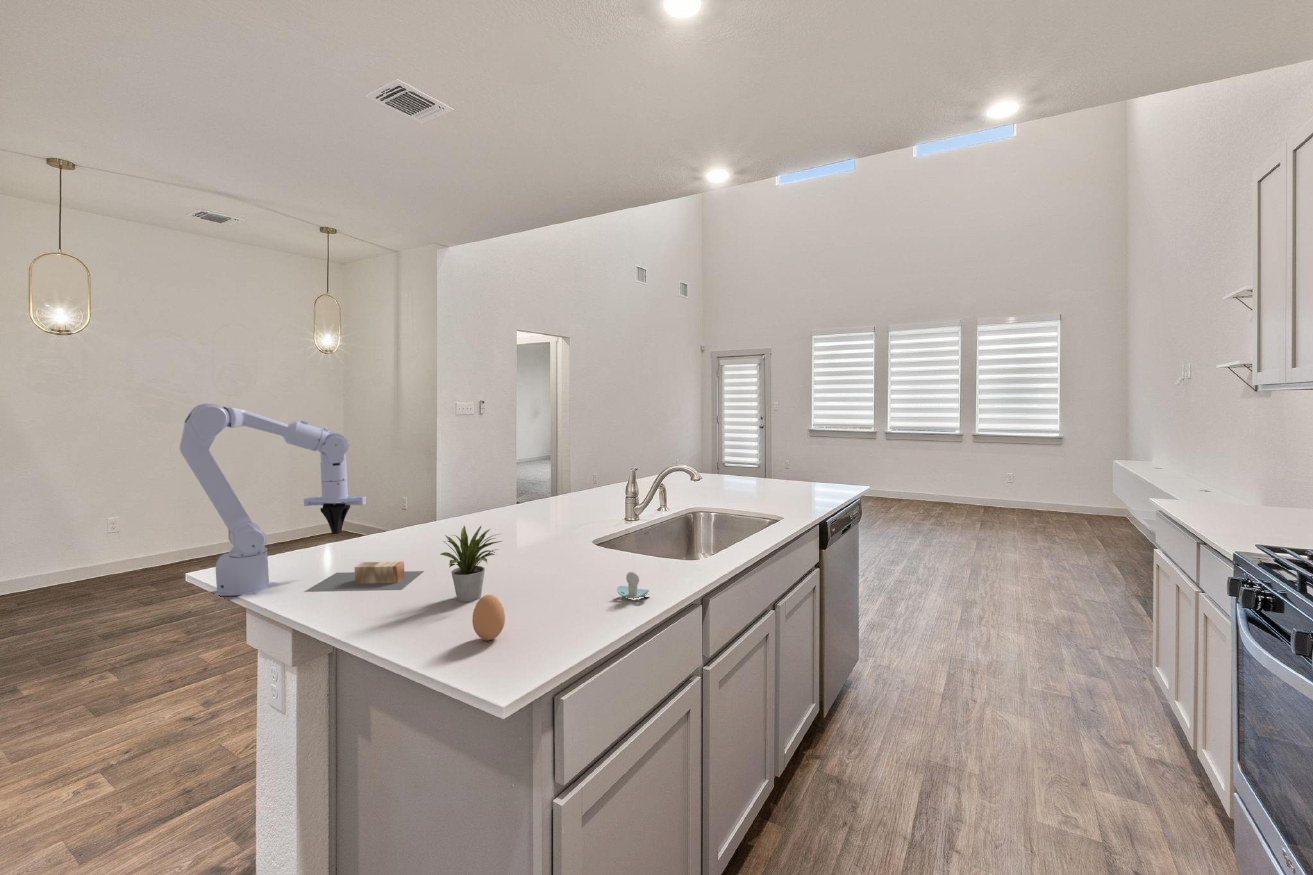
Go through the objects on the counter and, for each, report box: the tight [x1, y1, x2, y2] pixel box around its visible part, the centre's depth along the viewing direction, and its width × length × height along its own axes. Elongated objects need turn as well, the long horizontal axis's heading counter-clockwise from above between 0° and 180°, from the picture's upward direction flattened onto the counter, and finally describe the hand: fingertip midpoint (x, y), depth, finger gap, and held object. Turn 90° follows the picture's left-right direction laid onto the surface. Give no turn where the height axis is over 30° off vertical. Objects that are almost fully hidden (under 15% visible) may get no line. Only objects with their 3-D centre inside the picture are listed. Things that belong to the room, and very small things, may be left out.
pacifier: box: [616, 571, 650, 599], centre depth 125 cm, size 7×6×6 cm
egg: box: [471, 594, 506, 641], centre depth 103 cm, size 6×6×8 cm
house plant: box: [439, 524, 503, 603], centre depth 124 cm, size 14×14×16 cm
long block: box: [353, 561, 405, 584], centre depth 136 cm, size 4×4×10 cm
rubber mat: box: [303, 570, 425, 593], centre depth 136 cm, size 22×14×1 cm, turn 92°
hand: (336, 533), depth 143 cm, fingers closed
